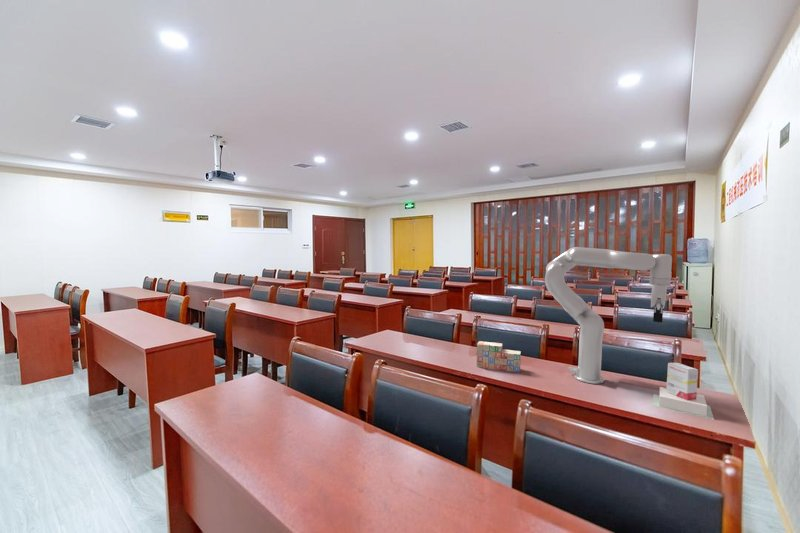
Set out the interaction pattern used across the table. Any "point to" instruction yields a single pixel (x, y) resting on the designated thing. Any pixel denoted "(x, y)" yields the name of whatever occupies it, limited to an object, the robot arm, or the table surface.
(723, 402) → the table surface
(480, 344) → the stack of blocks
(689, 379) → the ink box
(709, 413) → the building plate
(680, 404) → the cream brick
